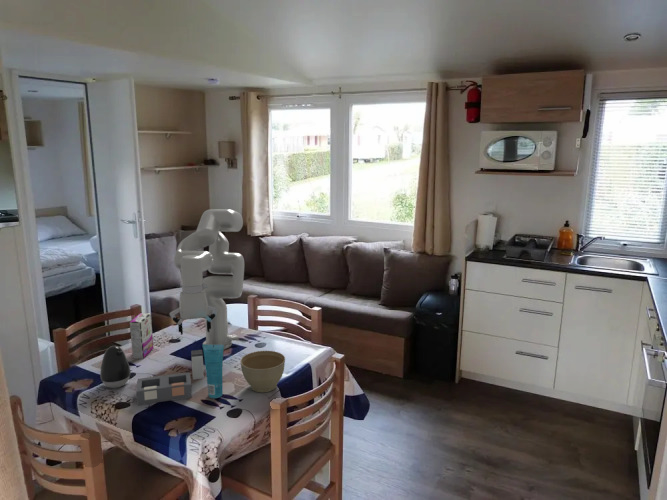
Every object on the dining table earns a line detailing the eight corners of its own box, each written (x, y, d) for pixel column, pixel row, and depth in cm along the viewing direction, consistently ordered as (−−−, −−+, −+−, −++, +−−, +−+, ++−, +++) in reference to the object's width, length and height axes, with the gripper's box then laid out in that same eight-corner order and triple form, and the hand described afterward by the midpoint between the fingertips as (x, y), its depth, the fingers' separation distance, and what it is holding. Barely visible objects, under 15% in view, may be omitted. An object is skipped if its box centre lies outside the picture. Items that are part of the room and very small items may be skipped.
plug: (203, 373, 192) (201, 349, 190) (203, 378, 189) (202, 353, 187) (192, 375, 191) (191, 350, 189) (192, 379, 187) (191, 354, 185)
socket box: (190, 384, 183) (189, 371, 182) (191, 397, 174) (191, 383, 173) (138, 391, 178) (137, 377, 177) (137, 405, 168) (136, 391, 167)
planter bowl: (249, 375, 191) (249, 348, 189) (290, 378, 189) (290, 352, 186) (234, 395, 176) (233, 366, 174) (278, 399, 173) (278, 370, 171)
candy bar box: (142, 348, 216) (139, 312, 213) (153, 348, 216) (151, 312, 212) (131, 359, 205) (128, 321, 202) (143, 359, 205) (141, 321, 202)
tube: (226, 391, 178) (224, 341, 174) (225, 398, 173) (223, 347, 170) (205, 392, 177) (203, 342, 174) (203, 399, 173) (201, 347, 169)
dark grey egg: (111, 394, 176) (108, 354, 173) (95, 386, 182) (92, 347, 179) (137, 383, 184) (134, 345, 181) (121, 376, 190) (118, 338, 187)
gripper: (215, 284, 189) (217, 326, 192) (168, 287, 183) (170, 331, 187) (217, 289, 182) (219, 333, 185) (168, 293, 176) (171, 338, 180)
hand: (195, 332), depth 186 cm, fingers open, 9 cm apart
